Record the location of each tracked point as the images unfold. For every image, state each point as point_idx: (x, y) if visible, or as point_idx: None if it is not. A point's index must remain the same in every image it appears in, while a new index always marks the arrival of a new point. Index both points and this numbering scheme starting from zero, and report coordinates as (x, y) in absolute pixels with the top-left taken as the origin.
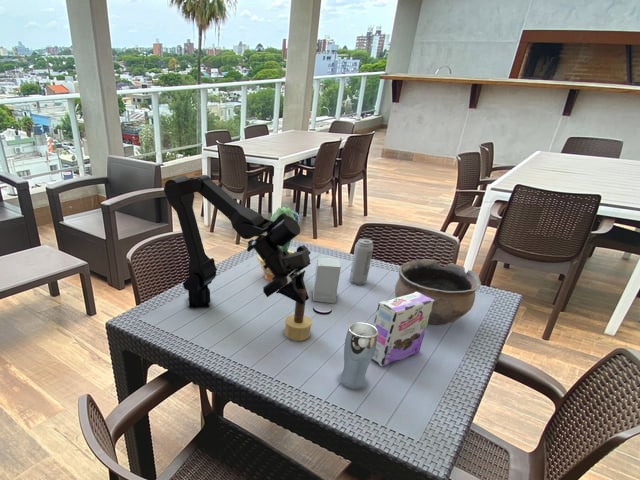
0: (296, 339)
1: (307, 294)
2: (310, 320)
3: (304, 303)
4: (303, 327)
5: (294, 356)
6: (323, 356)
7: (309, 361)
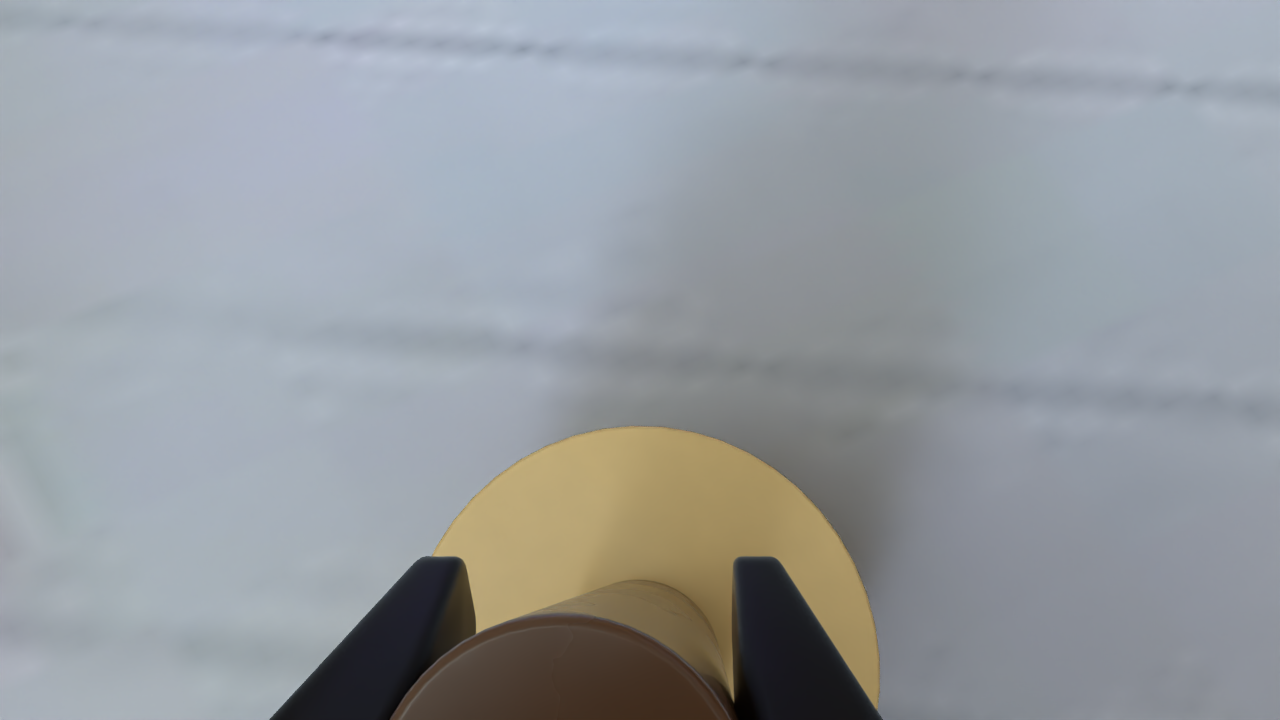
0: None
1: (380, 627)
2: (511, 487)
3: (626, 597)
4: (792, 493)
5: (1161, 435)
6: (935, 143)
7: (1139, 236)
